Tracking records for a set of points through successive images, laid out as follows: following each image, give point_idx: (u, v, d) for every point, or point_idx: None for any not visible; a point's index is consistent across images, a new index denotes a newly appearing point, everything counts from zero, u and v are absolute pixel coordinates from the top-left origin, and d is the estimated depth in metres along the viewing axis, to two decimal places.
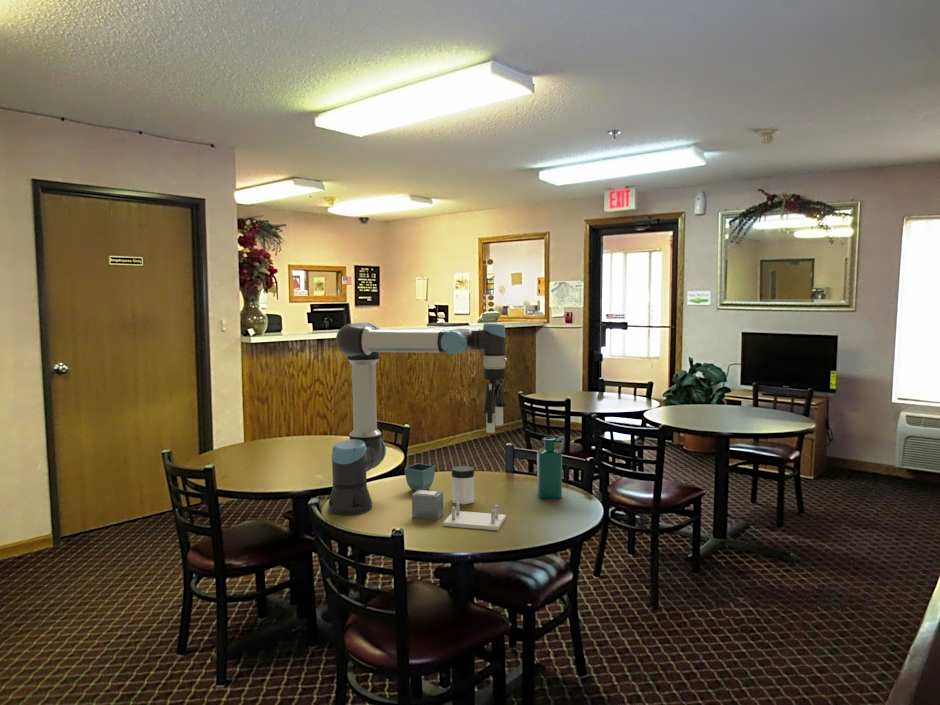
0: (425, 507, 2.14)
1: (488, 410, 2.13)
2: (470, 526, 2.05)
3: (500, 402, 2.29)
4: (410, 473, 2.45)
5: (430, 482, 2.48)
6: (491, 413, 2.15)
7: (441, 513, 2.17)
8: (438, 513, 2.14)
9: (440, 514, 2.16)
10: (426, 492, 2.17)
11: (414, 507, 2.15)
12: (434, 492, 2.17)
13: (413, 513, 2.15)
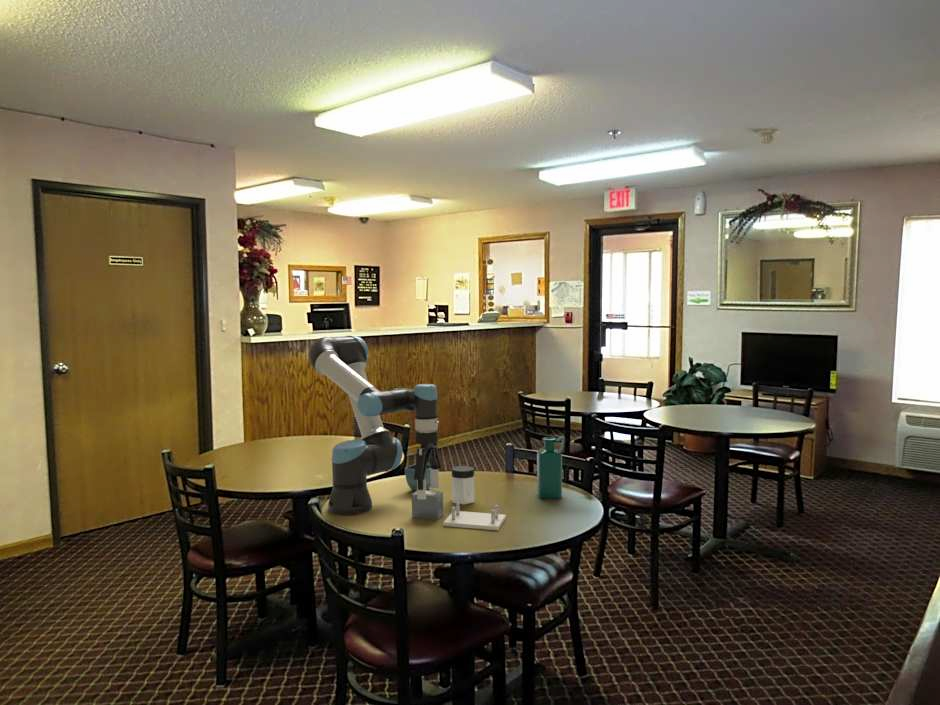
0: (425, 507, 2.14)
1: (418, 477, 2.06)
2: (470, 526, 2.05)
3: (435, 464, 2.21)
4: (410, 473, 2.45)
5: (430, 482, 2.48)
6: (421, 479, 2.08)
7: (441, 513, 2.17)
8: (438, 513, 2.14)
9: (440, 514, 2.16)
10: (426, 492, 2.17)
11: (415, 507, 2.15)
12: (434, 492, 2.17)
13: (413, 513, 2.15)
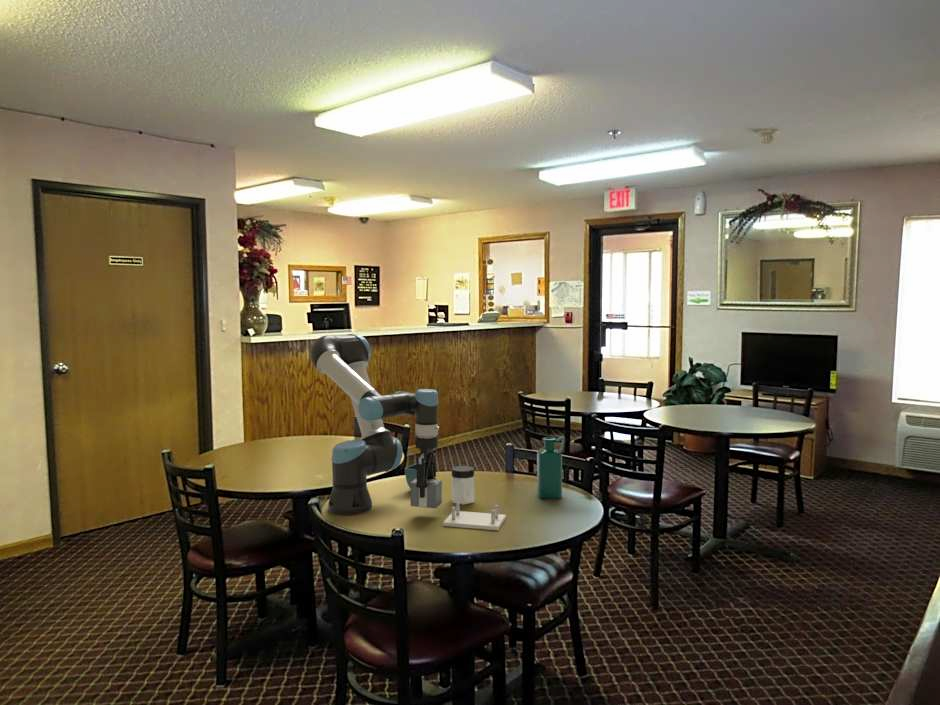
0: None
1: (420, 485, 2.10)
2: (470, 526, 2.05)
3: (431, 475, 2.19)
4: (410, 473, 2.45)
5: None
6: (423, 488, 2.12)
7: (439, 501, 2.17)
8: (437, 502, 2.14)
9: (438, 502, 2.16)
10: None
11: (413, 495, 2.15)
12: (433, 480, 2.17)
13: (411, 501, 2.15)
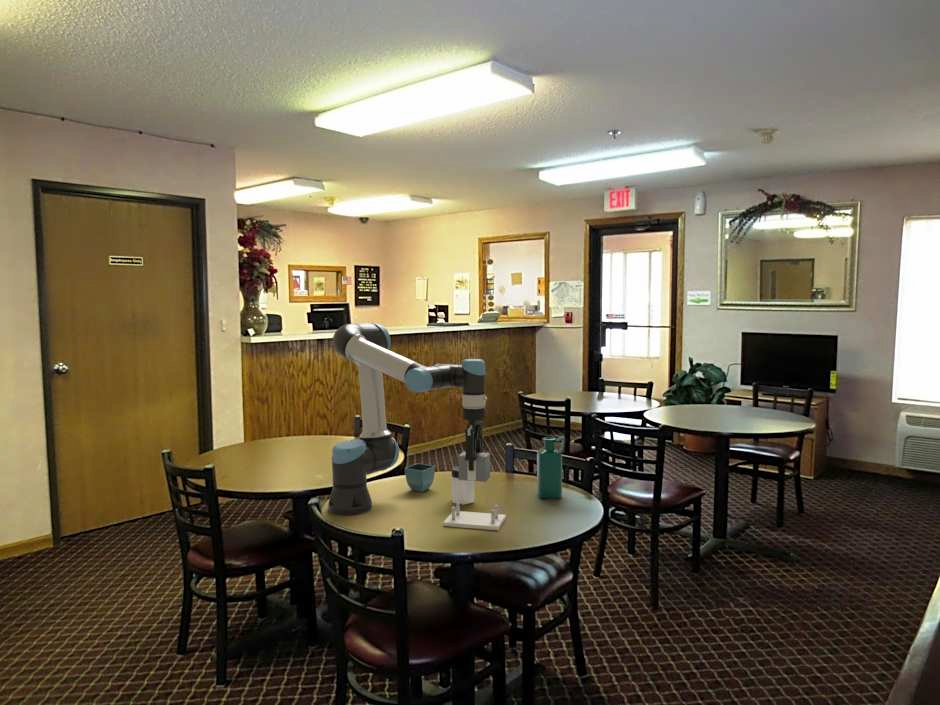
0: None
1: (469, 457, 2.03)
2: (470, 526, 2.05)
3: (478, 448, 2.12)
4: (410, 473, 2.45)
5: (430, 482, 2.48)
6: (472, 461, 2.05)
7: (488, 475, 2.10)
8: (486, 475, 2.07)
9: (487, 476, 2.09)
10: None
11: (461, 469, 2.08)
12: (481, 453, 2.09)
13: (460, 475, 2.08)
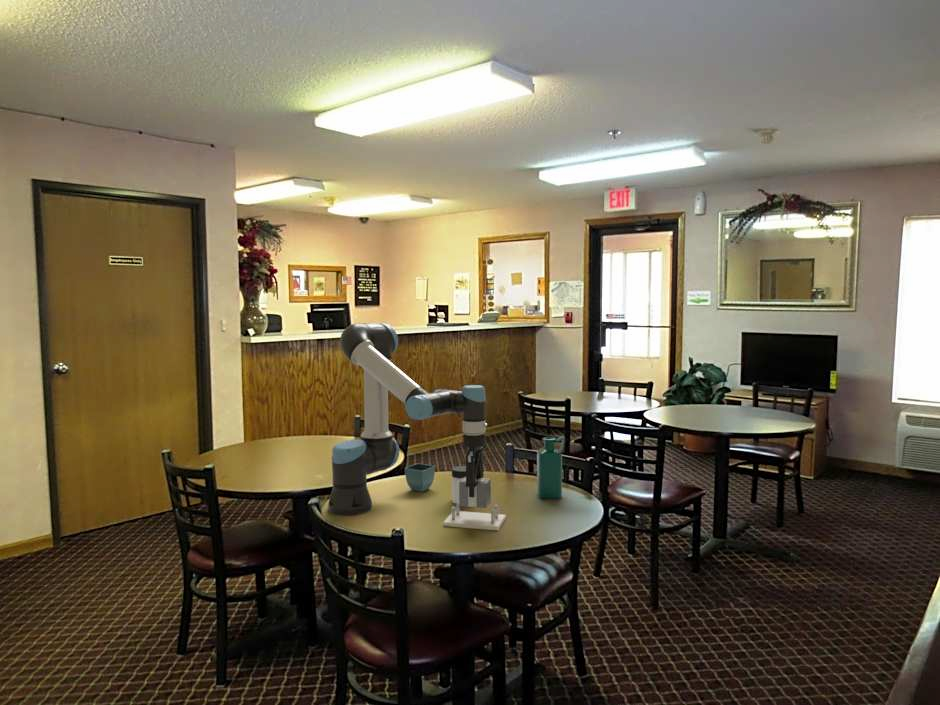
0: None
1: (470, 484, 2.03)
2: (470, 526, 2.05)
3: (479, 474, 2.13)
4: (410, 473, 2.45)
5: (430, 482, 2.48)
6: (473, 487, 2.05)
7: (489, 501, 2.10)
8: (487, 501, 2.07)
9: (488, 502, 2.09)
10: None
11: (462, 495, 2.08)
12: (482, 479, 2.10)
13: (460, 501, 2.08)
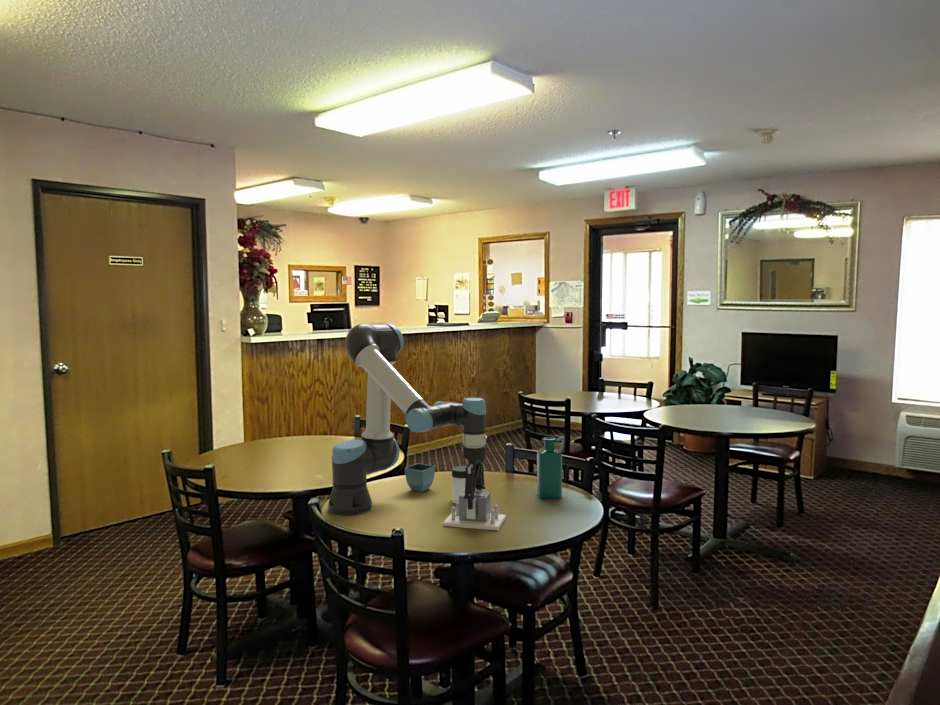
0: None
1: (468, 496, 2.02)
2: (470, 526, 2.05)
3: (480, 484, 2.14)
4: (410, 473, 2.45)
5: (430, 482, 2.48)
6: (472, 499, 2.04)
7: (488, 515, 2.11)
8: (486, 515, 2.08)
9: (488, 516, 2.10)
10: None
11: (462, 509, 2.09)
12: (481, 493, 2.10)
13: (460, 515, 2.09)
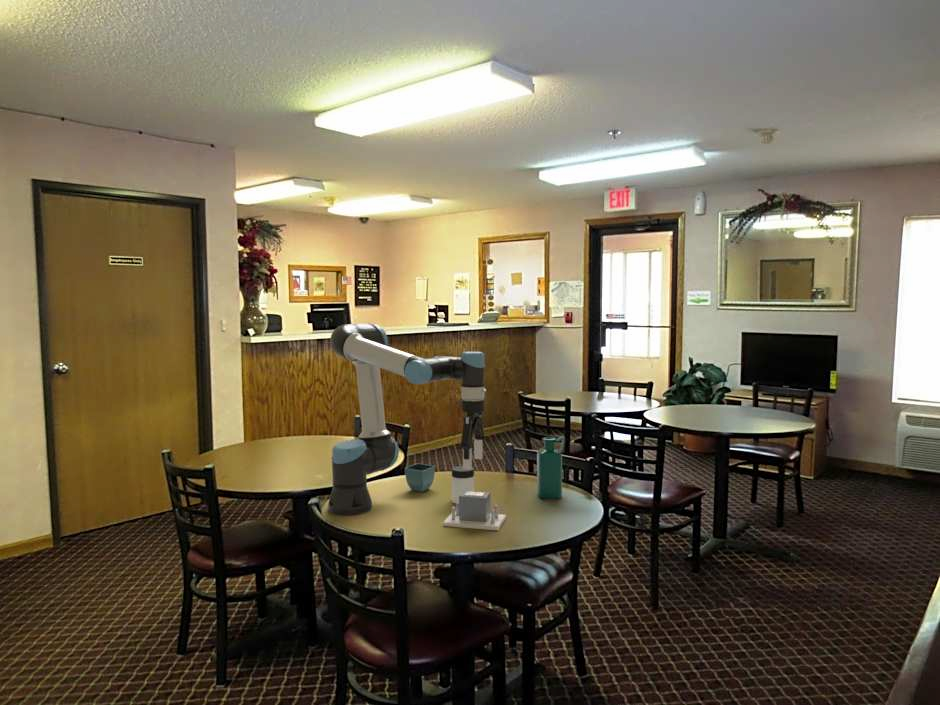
0: (473, 509, 2.08)
1: (464, 446, 2.00)
2: (470, 526, 2.05)
3: (479, 435, 2.15)
4: (410, 473, 2.45)
5: (430, 482, 2.48)
6: (468, 449, 2.02)
7: (488, 515, 2.11)
8: (486, 515, 2.08)
9: (488, 516, 2.10)
10: (473, 493, 2.10)
11: (462, 509, 2.09)
12: (481, 493, 2.10)
13: (460, 515, 2.09)
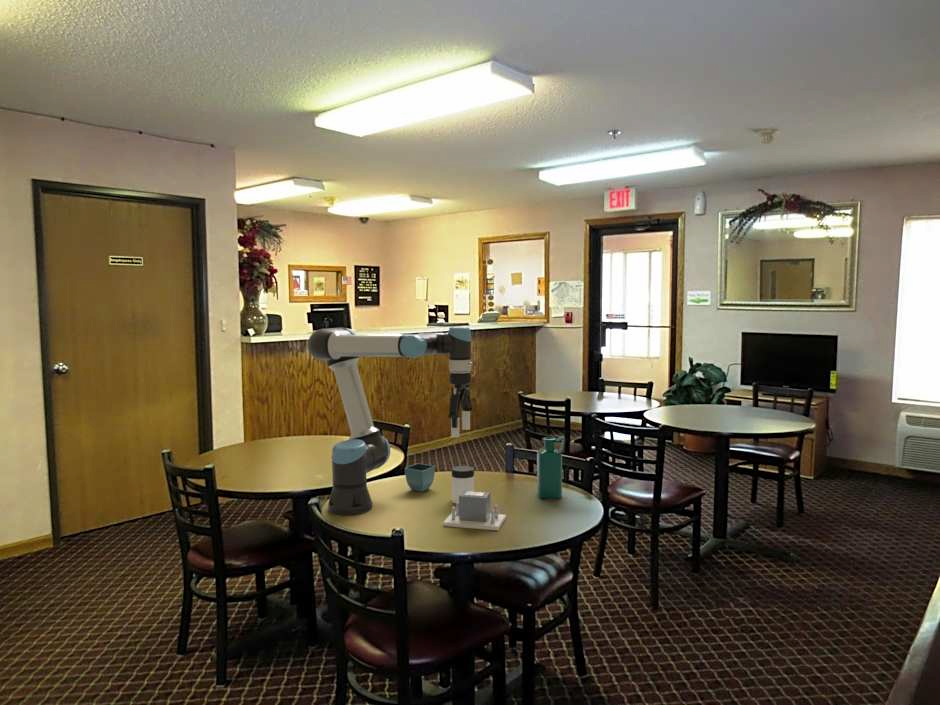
0: (473, 509, 2.08)
1: (452, 415, 2.12)
2: (470, 526, 2.05)
3: (467, 406, 2.28)
4: (410, 473, 2.45)
5: (430, 482, 2.48)
6: (455, 418, 2.14)
7: (488, 515, 2.11)
8: (486, 515, 2.08)
9: (488, 516, 2.10)
10: (473, 493, 2.10)
11: (462, 509, 2.09)
12: (481, 493, 2.10)
13: (460, 515, 2.09)
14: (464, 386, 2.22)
